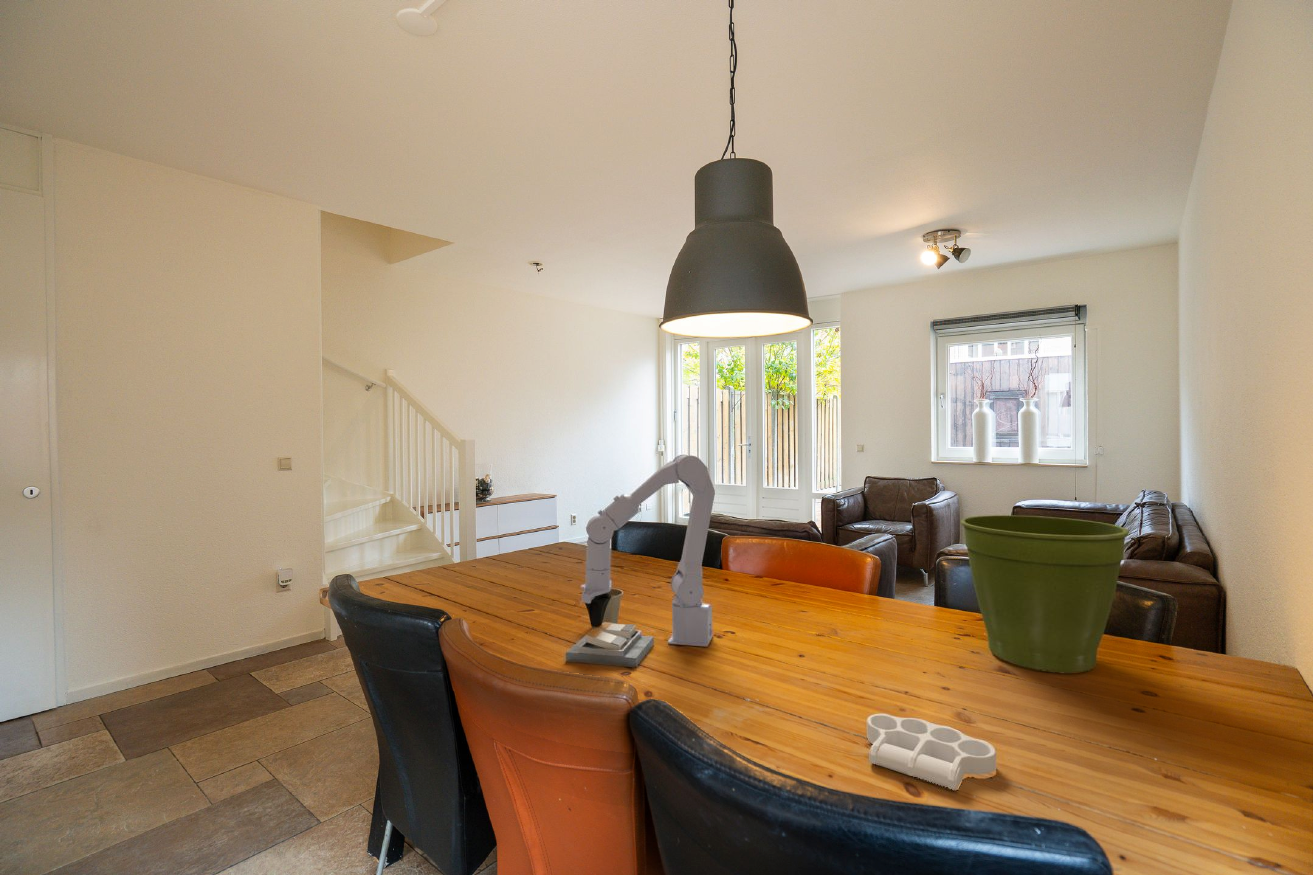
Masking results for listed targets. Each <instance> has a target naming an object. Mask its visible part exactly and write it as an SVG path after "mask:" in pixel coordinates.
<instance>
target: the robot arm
mask: <svg viewBox="0 0 1313 875" xmlns="http://www.w3.org/2000/svg"><path fill="white" fill-rule="evenodd" d="M680 482H681V483H683V485H685V487H686V488H687V490H688V491H689V492H690V493H691V494H692V498H691V499H692V501H691V505H690V511H689V516H688V521H687V527H686V532H685V538H684V543H683V547H682V553H681V559H680V560H679V562H678V564H677V568H676V572H675V573H674V574H673V575H672V578H671V580H670V588H671V590H672V592H673V594H674V596H673V599H672V600H671V616H672V619H671V620H672V623H671V624H672V635H671V637H670V638H669V639H668V640H667V644H669V645H681V646H682V645H683V646H693V647H694V646H695V647H708V646H709V644H710V642H711V640H712V639H713V637H714V633H713V608H712V605H711V604H710V603H705V602H703V598H704V594H705V593H704V592H705V590H704V586H703V579H704V578H703V577H704V576H703V575H704V574H703V573H704V572H703V566H702V565H703V560H704V553H705V548H706V543H707V539H708V538H707V537H708V532H709V528H710V522H711V517H712V510H713V505H714V500H715V494H716V490H715V487H714V484H713V483H712V480H711V477H710V474H709V471H708V466H707V465H706V464H705V463H704V462H703V461H702V460H701V459H700V458H699V457H698V456H695V455H689V454H679V455H677V456H676V457H674V459H673V460H670V461H668V462H667V463H665V464H664V465H663V466H661V467H660V468H658V469H657V470H656V471H655V472H654V473H653V474H652V475H651V476H650V477H649V478H647V479H646V480H645V481H644V482H643V483H642V484H641V485H640V486H638V488H636V489H635V490H634V491H633V492H632V493H630V494H626V493H622V494H621V495H620V496H619V495H616V496H615V497H613V499H612V500H614V501H612V502H611V503H610V504H609V505H608V506H607V507H605V508H604V509H603V510H602V509H600V510H598V512H597V514H598V515H595V516H593V517H591V518H590V519H589V520H588V522H587V524H586V527H585V529H586V534H587V535H588V537H587V541H586V545H587V547H586V550H585V551H586V552H585V554H586V555H585V557H586V558H585V581H584V582H585V583H584V584H581V585H580V590H583V592H582V593H581V598H580V600H581V604H585V607H586V610H587V613H588V617H589V623H590V626H591V627H593V628H595V627H599V626H600V625H602V622H603V618H604V614H605V610H606V607H607V605H608V603H609V601H610V599H611V594H605V593H607V592H610V590H611V588H613V580H612V579H611V566H612V565H611V559H612V557H611V556H612V549H611V540H612V537H613V536H614V533H615V532H614V531H618V530H619V529H621V528H622V527H623V526H624V525H625V524H627V523H628V522H629V521H630V520H632V518H633V517H636V515H637V514H638V513H639V506H640V505H642V503H644V502H645V501H646V500H648V498H650V497H651V496H653V495H654V494H656V493H657V492H658V491H659V490H660V489H662V488H663V487H665V485H672V484H678V483H680Z"/></svg>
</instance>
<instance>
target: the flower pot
mask: <svg viewBox="0 0 1313 875" xmlns="http://www.w3.org/2000/svg"><path fill="white" fill-rule="evenodd" d="M605 594H611V599H610V601H609V603H608V605H607V607H606V610H605V614H604V618H603V622H602V623H604V622H609V623H613V624H619V612H620V605H621V600H622V598H623V595H624V591H623V590H622V589H618V588H613V587H612V588H611V590H610V592H607V593H605ZM594 628H596V629H597V628H598V627H594Z"/></svg>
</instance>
